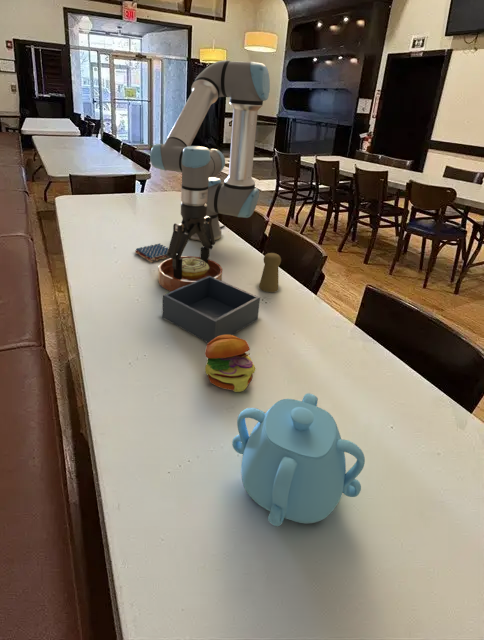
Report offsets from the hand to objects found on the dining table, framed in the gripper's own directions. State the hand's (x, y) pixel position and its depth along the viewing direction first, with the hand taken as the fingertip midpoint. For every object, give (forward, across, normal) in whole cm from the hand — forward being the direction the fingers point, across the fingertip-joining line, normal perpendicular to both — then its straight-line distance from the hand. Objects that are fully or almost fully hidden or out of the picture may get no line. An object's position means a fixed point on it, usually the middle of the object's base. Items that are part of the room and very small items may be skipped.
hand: (191, 272), depth 126 cm
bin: (+3, -12, -19) cm, 23 cm away
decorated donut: (0, 0, 0) cm, 0 cm away
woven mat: (+3, +6, +23) cm, 24 cm away
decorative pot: (+2, -40, -60) cm, 72 cm away
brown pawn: (+3, +15, -19) cm, 24 cm away
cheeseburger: (+2, -27, -37) cm, 46 cm away
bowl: (+3, 0, 0) cm, 3 cm away
